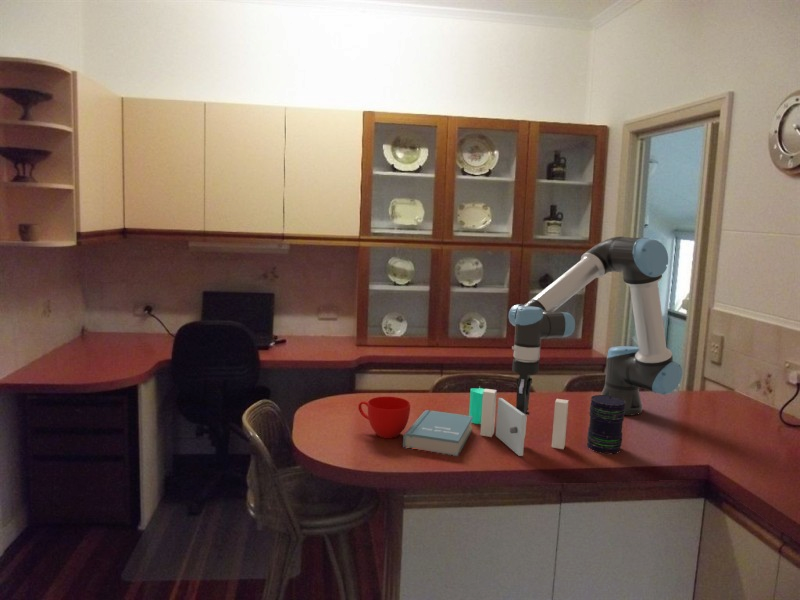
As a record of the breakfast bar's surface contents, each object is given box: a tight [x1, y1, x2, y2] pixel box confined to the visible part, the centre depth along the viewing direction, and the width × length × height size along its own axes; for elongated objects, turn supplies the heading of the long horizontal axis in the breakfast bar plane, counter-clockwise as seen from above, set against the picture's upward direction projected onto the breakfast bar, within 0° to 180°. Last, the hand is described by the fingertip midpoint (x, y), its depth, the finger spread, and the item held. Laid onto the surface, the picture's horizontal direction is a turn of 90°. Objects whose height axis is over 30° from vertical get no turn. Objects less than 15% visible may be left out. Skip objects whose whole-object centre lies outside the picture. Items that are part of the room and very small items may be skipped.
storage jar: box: [586, 394, 626, 454], centre depth 179 cm, size 10×10×15 cm
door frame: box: [480, 388, 570, 450], centre depth 182 cm, size 25×4×14 cm, turn 69°
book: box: [402, 409, 473, 457], centre depth 182 cm, size 23×16×5 cm
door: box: [495, 397, 527, 457], centre depth 177 cm, size 16×3×12 cm, turn 15°
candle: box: [468, 385, 486, 425], centre depth 198 cm, size 6×6×12 cm
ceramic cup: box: [358, 396, 411, 439], centre depth 184 cm, size 13×17×10 cm
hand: (520, 436), depth 180 cm, fingers closed
